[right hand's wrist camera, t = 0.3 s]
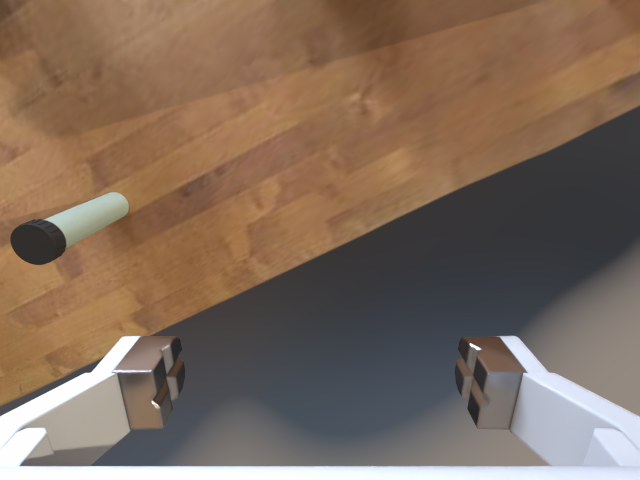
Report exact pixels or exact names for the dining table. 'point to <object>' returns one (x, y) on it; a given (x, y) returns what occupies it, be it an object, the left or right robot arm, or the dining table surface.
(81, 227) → the pale green cylinder
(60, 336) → the dining table surface
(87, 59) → the dining table surface
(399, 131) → the dining table surface
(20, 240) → the lid
